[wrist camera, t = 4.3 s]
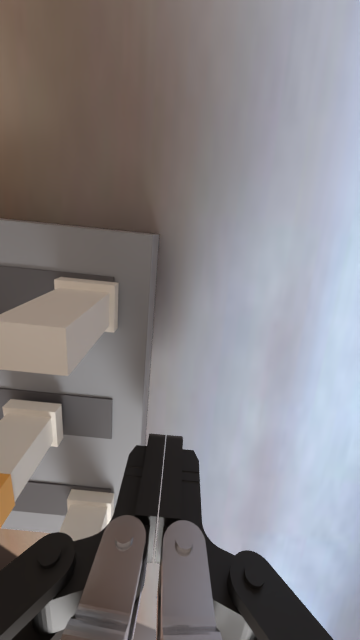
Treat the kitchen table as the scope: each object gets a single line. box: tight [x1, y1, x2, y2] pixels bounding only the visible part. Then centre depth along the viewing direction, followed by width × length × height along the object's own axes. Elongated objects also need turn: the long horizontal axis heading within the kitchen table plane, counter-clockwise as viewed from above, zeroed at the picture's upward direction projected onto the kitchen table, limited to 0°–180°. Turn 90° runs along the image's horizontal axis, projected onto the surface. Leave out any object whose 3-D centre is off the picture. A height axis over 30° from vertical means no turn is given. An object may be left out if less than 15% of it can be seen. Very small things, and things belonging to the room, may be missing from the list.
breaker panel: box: [0, 218, 159, 541], centre depth 12 cm, size 18×10×7 cm, turn 174°
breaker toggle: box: [0, 399, 63, 528], centre depth 11 cm, size 2×2×5 cm
